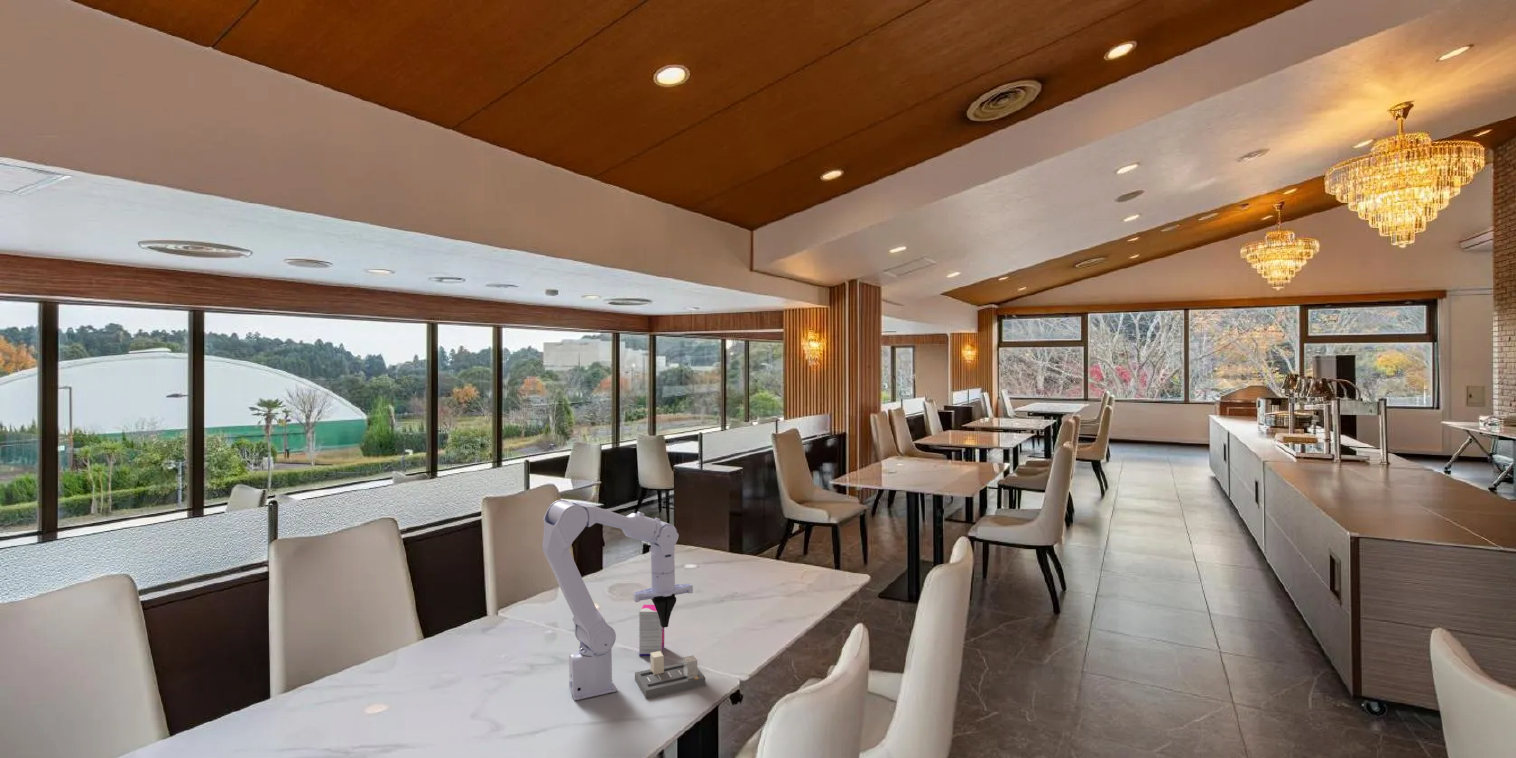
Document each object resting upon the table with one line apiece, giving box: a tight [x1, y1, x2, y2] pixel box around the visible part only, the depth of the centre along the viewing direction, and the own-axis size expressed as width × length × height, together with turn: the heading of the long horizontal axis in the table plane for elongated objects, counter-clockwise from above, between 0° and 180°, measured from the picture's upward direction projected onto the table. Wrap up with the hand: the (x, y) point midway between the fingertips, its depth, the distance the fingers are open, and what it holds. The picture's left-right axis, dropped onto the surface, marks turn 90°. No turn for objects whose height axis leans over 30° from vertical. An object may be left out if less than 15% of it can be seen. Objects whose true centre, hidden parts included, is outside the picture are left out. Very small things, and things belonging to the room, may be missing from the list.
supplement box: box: [638, 604, 665, 657], centre depth 169 cm, size 6×6×12 cm
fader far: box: [649, 651, 665, 675], centre depth 154 cm, size 2×3×5 cm
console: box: [634, 662, 707, 700], centre depth 152 cm, size 14×10×2 cm
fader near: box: [682, 655, 699, 680], centre depth 151 cm, size 2×3×5 cm
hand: (664, 626), depth 161 cm, fingers closed
